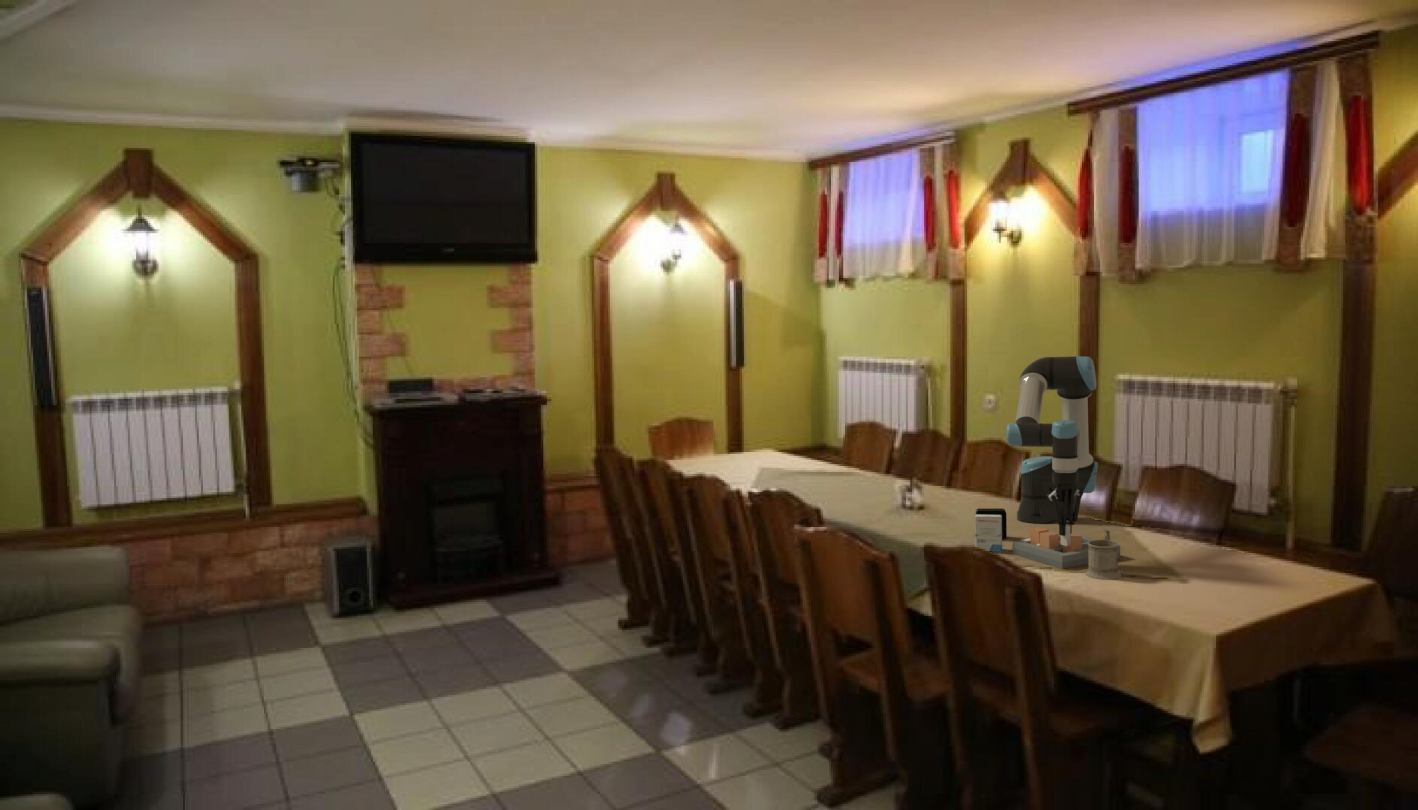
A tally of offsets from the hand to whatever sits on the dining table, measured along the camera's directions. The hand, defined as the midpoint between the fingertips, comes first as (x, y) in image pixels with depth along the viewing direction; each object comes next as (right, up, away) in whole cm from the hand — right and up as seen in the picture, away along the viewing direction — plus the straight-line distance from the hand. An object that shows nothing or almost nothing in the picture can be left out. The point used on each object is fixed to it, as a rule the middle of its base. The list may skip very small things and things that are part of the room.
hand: (1065, 544), depth 309 cm
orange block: (+3, -3, +1) cm, 4 cm away
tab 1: (-4, -2, +11) cm, 12 cm away
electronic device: (-13, -3, +36) cm, 38 cm away
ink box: (-18, -5, +19) cm, 27 cm away
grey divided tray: (+3, -5, +8) cm, 10 cm away
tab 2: (-3, -3, +5) cm, 7 cm away
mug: (+7, -7, -13) cm, 16 cm away
